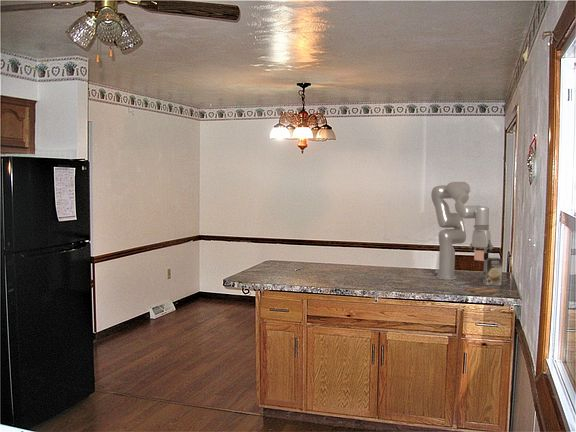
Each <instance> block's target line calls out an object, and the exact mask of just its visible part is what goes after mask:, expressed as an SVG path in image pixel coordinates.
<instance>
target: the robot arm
mask: <svg viewBox="0 0 576 432" xmlns="http://www.w3.org/2000/svg"><path fill="white" fill-rule="evenodd" d="M470 192H471V186H470V185H469V183H467V182H465V181H451V182H449V183H448V184H446V185H437V186H434V187H433V188H432V190H431V202H432V203H433V205H434V209H435V214H436V218H437V223H438V225H439V227H440V228H443V229H442V230H440V231H439V233H438V243H439V263H438V269H436V270H435V271H434V274H436V276H435V277H436V279H438V280H439V279H440V280H444V281H445V280H446V281H447V280H448V281H450V280H451V281H452V280H456V279H457V278H458V277H457V276H456V275H455V267H456V266H455V263H456V249H455V248H454V245H455V244H456V245H457V244H458V245H459V244H460V245H461V244H463V243H465V242H466V240H467V234H466V229H465V228H466V227H465V223H464V219H467V220H468V219H474V225H473V228H474V229H473V232H472V236H471V243H470V244H469V246H470V248H471V249H472V250H473V251H474V250H480V248H481V249H483V250H484V251H485V253H484V260H488V258H489V254H490V252H491V251H492V250H493V249H494V245H493V244H492V239H491V238H492V237H491V231H490V226H489V225H490V223H489V222H490V207H488V206H481V205H465V204H466V203H467V202H468V201H469V198H470V196H469V193H470ZM444 199H452V200H453V201H454V208H455V211H456V212H451V211H450V207H449V205H448V202H446V200H444Z"/></svg>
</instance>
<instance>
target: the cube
mask: <svg viewBox="0 0 576 432" xmlns="http://www.w3.org/2000/svg"><path fill="white" fill-rule="evenodd" d="M473 253H474V254H473V255H474V256H473V257H474V258H473V260H474V261H478V262H479V261H480V262H484V261H486V260H484V253H485V251H484V249H479V250H473Z"/></svg>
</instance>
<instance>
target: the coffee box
mask: <svg viewBox="0 0 576 432" xmlns="http://www.w3.org/2000/svg"><path fill="white" fill-rule="evenodd" d="M502 275H503V259H502V258H500V257H488V260H486V261H483V273H482V284H484V285H485V286H502V279H503V278H502Z"/></svg>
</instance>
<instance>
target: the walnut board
mask: <svg viewBox="0 0 576 432" xmlns="http://www.w3.org/2000/svg"><path fill="white" fill-rule="evenodd" d="M501 291H502V290H501V289H496V288H492V287H487V286H481V285H478V286H477V285H476V286H472V287H467V288H464V292H469V293H471V294H477V295H482V296H490V295H494V294H495V295H496V294H499V292H500V293H501Z"/></svg>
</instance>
